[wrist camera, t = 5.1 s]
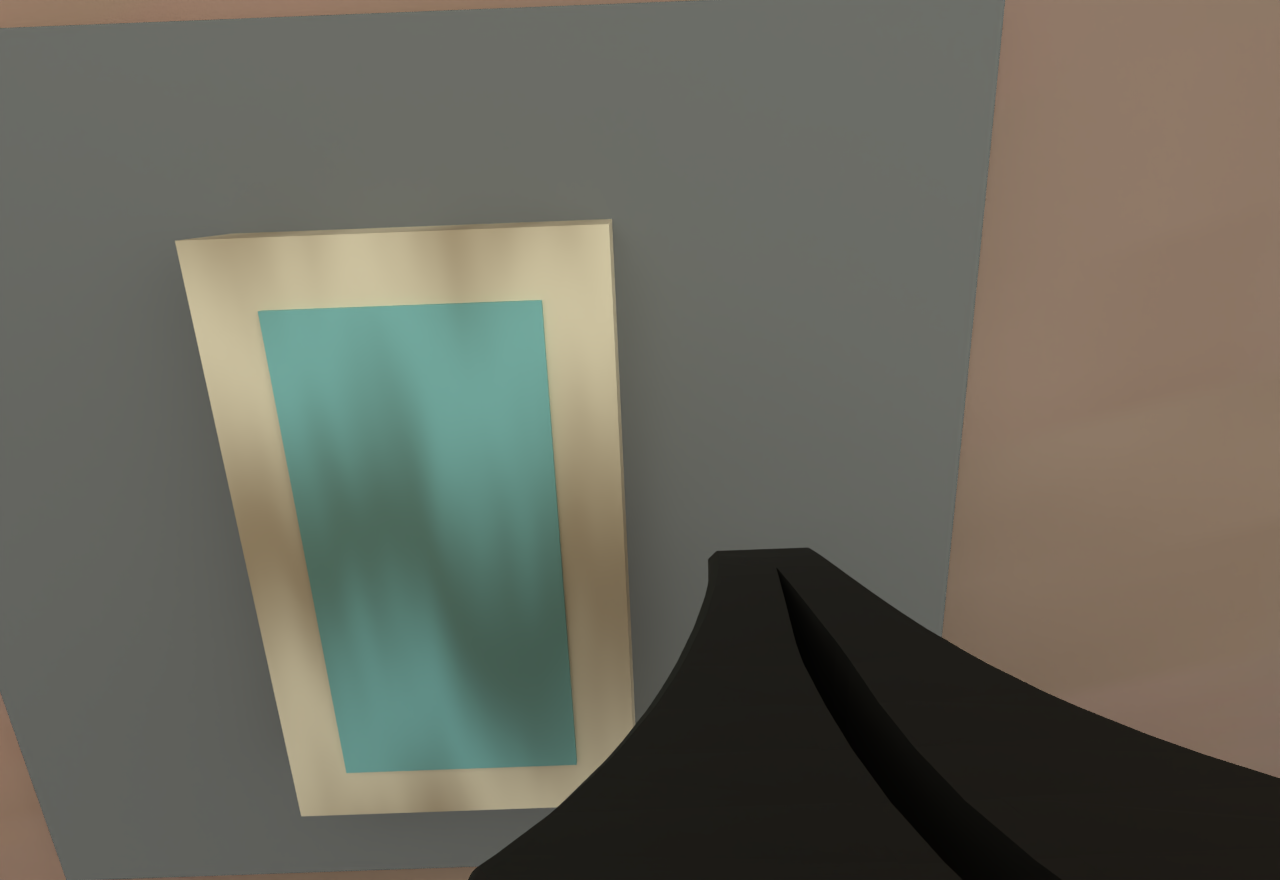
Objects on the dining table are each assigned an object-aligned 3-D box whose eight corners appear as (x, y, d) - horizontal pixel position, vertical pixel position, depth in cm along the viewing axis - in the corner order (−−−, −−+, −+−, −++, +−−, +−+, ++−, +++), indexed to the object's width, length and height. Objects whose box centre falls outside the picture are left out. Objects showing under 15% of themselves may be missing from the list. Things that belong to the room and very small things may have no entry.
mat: (910, 828, 17) (920, 850, 16) (86, 857, 17) (66, 880, 16) (988, -3, 12) (1005, -12, 11) (-188, 44, 12) (-231, 37, 11)
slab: (636, 808, 14) (299, 820, 14) (636, 743, 15) (334, 753, 15) (608, 224, 11) (170, 241, 11) (612, 218, 12) (231, 233, 12)
